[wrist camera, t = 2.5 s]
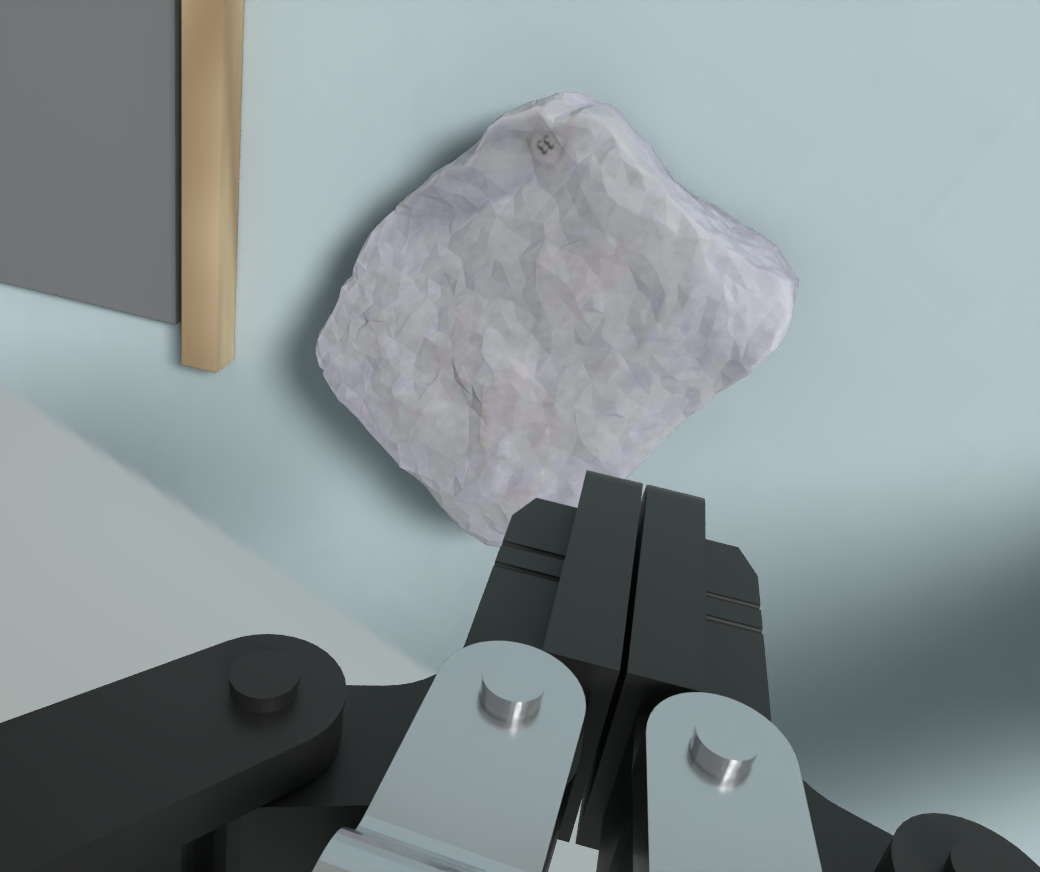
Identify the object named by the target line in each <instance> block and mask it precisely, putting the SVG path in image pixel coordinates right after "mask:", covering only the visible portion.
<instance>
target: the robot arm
mask: <svg viewBox="0 0 1040 872" xmlns="http://www.w3.org/2000/svg"><path fill="white" fill-rule="evenodd" d="M642 487H643V484H642V483H638V482H634V481H630V480H626V479H622V478H618V477H614V476H610V475H605V474H601V473H597V472H593V471H589V470H586V474H585V479H584V483H583V487H582V491H581V495H580V499H579V503H578V507H577V508H576V507H572V506H568V505H564V504H560V503H556V502H552V501H548V500H544V499H540V498H535V499H534V500H532V501H531V502H530V503H528V504H527V505H525V506H524V507H523V508H521V509H520V510H518V511H517V512H516V513H514V514H513V515H512V517H511V520H510V522H509V525H508V528H507V530H506V533H505V536H504V539H503V542H502V545H501V547H500V550H499V552H498V555H497V558H496V561H495V565H494V566H493V569H492V571H491V574H490V577H489V580H488V582H487V585H486V588H485V591H484V593H483V596H482V599H481V602H480V604H479V607H478V610H477V612H476V615H475V618H474V621H473V623H472V626H471V629H470V632H469V634H468V637H467V640H466V643H465V645H464V647H463V648H462V649H460V650H458V651H457V652H455V653H454V654H452V655H451V656H450V657H449V658H448V659H447V660H446V661H445V662H444V663H443V665H442V666H441V668H440V669H439V671H438V673H437V674H436V675H433V676H431V677H429V678H426V679H424V680H420V681H417V682H414V683H409V684H402V685H391V686H359V685H353V686H352V685H346V683H345V677H344V675H343V673H342V670H341V668H340V667H339V665H338V664H337V663H336V661H335V660H334V659H333V658H332V657H331V656H330V655H329V654H328V653H327V652H325V651H324V650H322V649H321V648H319V647H318V646H316V645H314V644H312V643H309V642H307V641H305V640H301V639H298V638H295V637H290V636H284V635H275V634H261V635H251V636H244V637H240V638H236V639H233V640H229V641H226V642H223V643H221V644H218V645H215V646H213V647H210V648H207V649H204V650H201V651H199V652H196V653H193V654H190V655H187V656H185V657H182V658H179V659H177V660H174V661H171V662H168V663H166V664H163V665H160V666H157V667H154V668H151V669H149V670H146V671H143V672H140V673H138V674H135V675H132V676H129V677H127V678H124V679H121V680H118V681H116V682H113V683H110V684H107V685H104V686H102V687H99V688H96V689H93V690H91V691H88V692H85V693H82V694H80V695H77V696H74V697H71V698H69V699H66V700H63V701H60V702H57V703H55V704H52V705H50V706H47V707H44V708H41V709H38V710H35V711H33V712H30V713H27V714H24V715H22V716H19V717H16V718H13V719H11V720H8V721H5V722H2V723H0V872H548V869H549V866H550V862H551V859H552V855H553V852H554V849H555V845H556V841H557V839H559V840H563V841H566V842H569V841H570V837H571V834H572V830H573V827H574V824H575V820H576V817H577V814H578V810H579V807H580V804H581V800H582V804H581V810H580V817H579V823H578V831H577V837H576V844H579V845H582V846H586V847H589V848H593V849H597V850H599V855H598V863H597V871H596V872H1040V867H1039V866H1038V865H1037V864H1036V863H1035V862H1034V861H1033V860H1031V859H1030V858H1029V857H1028V856H1027V855H1026V854H1025V853H1023V852H1022V851H1021V850H1020V849H1019V848H1017V847H1016V846H1015V845H1013V844H1012V843H1011V842H1009V841H1008V840H1006V839H1005V838H1003V837H1002V836H1000V835H998V834H997V833H995V832H993V831H992V830H990V829H988V828H986V827H984V826H982V825H979V824H977V823H975V822H972V821H970V820H967V819H964V818H961V817H957V816H952V815H948V814H938V813H930V814H921V815H917V816H914V817H911V818H910V819H908V820H906V821H905V822H903V823H902V824H901V825H900V827H899V828H898V829H897V830H896V832H895V834H894V836H893V835H891V834H889V833H887V832H885V831H884V830H882V829H880V828H878V827H876V826H874V825H872V824H870V823H868V822H867V821H865V820H863V819H861V818H859V817H857V816H855V815H853V814H852V813H850V812H848V811H846V810H844V809H842V808H841V807H839V806H837V805H835V804H834V803H832V802H830V801H829V800H827V799H826V798H824V797H823V796H822V795H820V794H819V793H818V792H816V791H815V790H814V789H813V788H811V787H810V786H809V785H808V784H807V783H806V782H805V781H803V780H802V777H801V772H800V767H799V763H798V760H797V757H796V754H795V752H794V750H793V749H792V747H791V745H790V743H789V742H788V740H787V739H786V738H785V736H784V735H783V734H782V733H781V732H780V730H779V729H778V728H777V727H776V726H775V725H774V724H773V723H771V714H770V703H769V692H768V681H767V671H766V660H765V649H764V639H763V634H761V633H762V629H763V628H762V617H761V610H759V608H760V596H759V585H758V576H757V574H756V573H755V571H754V570H753V568H752V567H751V565H750V564H749V562H748V561H747V559H746V558H745V557H744V555H743V554H742V552H741V551H740V549H739V548H738V547H735V546H731V545H727V544H723V543H719V542H715V541H711V540H706V539H705V499H704V498H701V497H697V496H692V495H688V494H684V493H680V492H676V491H672V490H668V489H664V488H660V487H656V486H651V485H647V486H646V488H645V491H644V494H643V497H642V500H641V495H642ZM640 503H641V504H640Z"/></svg>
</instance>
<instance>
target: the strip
mask: <svg viewBox="0 0 1040 872" xmlns="http://www.w3.org/2000/svg"><path fill="white" fill-rule="evenodd" d="M243 29H244V0H182V365H186V366H190V367H194V368H198V369H202V370H206V371H211V372H215V373H217V372H218V371H220V370H221V369H222V368H224V367H225V366H226V365H228V364H229V363H230V362H232V361H233V360H234V339H235V305H236V270H237V236H238V202H239V167H240V133H241V98H242V64H243Z"/></svg>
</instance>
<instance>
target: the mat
mask: <svg viewBox="0 0 1040 872" xmlns="http://www.w3.org/2000/svg"><path fill="white" fill-rule="evenodd" d="M0 282H4V283H8V284H12V285H16V286H20V287H24V288H28V289H32V290H36V291H41V292H45V293H49V294H53V295H57V296H61V297H65V298H69V299H73V300H77V301H82V302H86V303H90V304H94V305H98V306H102V307H106V308H110V309H114V310H118V311H123V312H127V313H131V314H135V315H139V316H143V317H147V318H151V319H155V320H159V321H164V322H168V323H172V324H177V323H179V322H180V321H182V0H0Z"/></svg>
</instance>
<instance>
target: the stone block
mask: <svg viewBox="0 0 1040 872" xmlns="http://www.w3.org/2000/svg"><path fill="white" fill-rule="evenodd" d="M798 282H799V280H798V278H797V277H796V275H795V273H794V272H793V270H792V268H791V267H790V265H789V264H788V263H787V261H786V260H785V259H784V257H783V256H782V254H781V253H780V251H779V249H778V247H777V246H776V245H775V244H773V243H772V242H771V241H769V240H768V239H766V238H765V237H764V236H762V235H761V234H759V233H757V232H756V231H754V230H753V229H750V228H748V227H746V226H743V225H742V224H741V223H740V222H738V221H737V220H736V219H734V218H733V217H731V216H729V215H728V214H726V213H724V212H723V211H721V210H720V209H719V208H717V207H716V206H714V205H712V204H710V203H708V202H706V201H704V200H702V199H700V198H698V197H696V196H694V195H692V194H691V193H689V192H688V191H687V190H686V189H684V188H683V187H682V186H681V185H679V184H678V183H677V182H675V181H674V179H673V178H672V177H671V175H670V174H669V173H668V171H667V170H666V169H665V167H664V166H663V164H662V163H661V161H660V160H659V158H658V156H657V155H656V153H655V152H654V150H653V149H652V147H651V146H650V145H649V144H648V143H647V142H646V141H645V140H644V139H643V138H642V137H641V136H640V135H639V134H638V133H637V132H636V131H635V130H633V128H632V126H631V125H630V123H629V122H628V120H627V119H626V117H625V116H624V115H623V114H622V113H621V112H620V111H619V110H618V109H616V108H615V107H613V106H612V105H610V104H605V103H600V102H598V101H595V100H593V99H591V98H590V97H588V96H586V95H584V94H579V93H556V94H554V95H552V96H550V97H547V98H543V99H539V100H535V101H531V102H528V103H526V104H524V105H522V106H520V107H518V108H516V109H514V110H512V111H509V112H506V113H505V114H503V115H502V116H501V117H499V118H498V119H497V120H496V121H495V122H494V123H493V124H492V125H490V126H489V127H488V128H487V129H486V130H485V132H484V133H483V135H482V137H481V139H480V140H479V141H478V142H477V143H475V144H474V145H473V146H472V147H470V148H469V149H468V150H467V151H465V152H464V153H463V154H462V155H460V156H459V157H458V158H457V159H456V160H454V161H453V162H451V163H449V164H447V165H445V166H444V167H442V168H440V169H438V170H437V171H436V172H434V173H433V174H431V176H430V177H429V178H428V179H427V180H426V181H425V182H424V183H423V184H422V185H421V186H419V187H418V188H417V189H416V190H415V191H413V192H412V193H410V194H409V195H407V196H406V197H405V198H404V200H402V201H401V202H400V203H399V204H398V205H397V206H396V209H394V210H393V211H392V212H391V213H390V214H388V215H387V216H386V217H385V218H384V219H383V220H382V221H381V222H380V223H379V224H378V225H377V226H376V227H375V229H374V230H373V231H372V232H371V233H370V234H369V236H368V237H367V239H366V241H365V243H364V245H363V247H362V249H361V251H360V253H359V256H358V258H357V260H356V263H355V265H354V267H353V274H352V276H351V277H350V278H348V279H347V281H346V282H345V283H344V285H343V286H342V287H341V290H340V295H339V299H338V302H337V304H336V306H335V308H334V310H333V312H332V313H331V315H330V316H329V318H328V319H327V321H326V323H325V325H324V326H323V328H322V329H321V330H320V331H319V333H318V336H319V337H318V340H317V343H316V352H315V353H316V356H317V360H318V363H319V367H320V368H322V371H323V376H324V377H325V379H326V381H327V383H328V385H329V387H330V389H331V391H332V392H333V393H334V394H335V395H336V397H337V398H338V400H339V402H340V403H342V404H343V405H344V406H345V407H347V408H348V410H349V411H350V412H351V413H352V414H353V415H355V416H356V417H357V419H358V420H359V421H360V422H361V424H362V425H363V426H364V427H365V428H366V429H367V430H368V432H369V433H370V434H371V435H372V436H373V437H374V438H375V440H376V441H377V442H378V443H379V444H380V445H381V446H382V447H383V448H384V450H385V451H386V452H387V453H388V454H389V455H390V456H391V457H392V458H393V459H394V460H395V461H396V462H397V464H398V465H399V466H400V468H402V469H404V470H405V471H407V472H408V473H410V474H411V475H413V476H414V477H415V478H416V479H418V480H419V481H420V482H421V483H422V484H424V485H425V486H426V487H427V489H428V490H429V492H430V493H431V495H432V496H433V497H434V499H435V500H436V501H437V503H438V504H439V505H440V507H442V508H443V509H444V510H445V511H446V513H447V514H448V515H449V516H450V517H451V518H452V520H454V521H455V522H456V523H457V524H458V525H459V526H460V527H461V528H462V529H463V530H464V531H466V532H467V533H469V534H470V535H472V536H474V537H475V538H477V539H479V540H480V541H481V542H483V543H484V544H486V545H489V546H494V547H501V545H502V542H503V539H504V536H505V533H506V530H507V528H508V525H509V522H510V520H511V517H512V515H513V514H514V513H516V512H517V511H518V510H520V509H521V508H523V507H524V506H525V505H527V504H528V503H530V502H531V501H532V500H534V499H535V498H540V499H544V500H548V501H552V502H556V503H560V504H564V505H568V506H572V507H576V508H577V507H578V503H579V499H580V495H581V491H582V487H583V483H584V479H585V474H586V470H589V471H593V472H597V473H601V474H605V475H610V476H614V477H618V478H622V479H626V478H627V477H628V476H629V475H630V474H631V473H632V472H633V471H634V470H635V469H636V468H637V467H638V466H639V465H640V464H641V463H642V462H643V461H644V460H645V459H646V458H647V457H648V456H649V454H650V453H651V452H652V451H653V450H654V449H655V448H656V447H657V446H658V445H659V444H660V443H661V442H662V441H663V440H664V439H665V438H666V437H667V436H668V435H669V434H670V433H671V432H672V431H674V430H675V429H676V428H677V427H678V426H679V425H680V424H681V423H682V422H683V421H684V420H685V419H687V418H688V417H689V416H690V415H692V414H693V413H694V412H696V411H697V410H699V409H700V408H701V407H703V406H704V405H705V404H706V403H707V402H708V401H709V400H710V399H711V398H713V397H714V396H715V395H716V394H717V393H718V392H720V391H722V390H723V389H725V388H727V387H728V386H730V385H732V384H733V383H735V382H737V381H738V380H740V379H742V378H743V377H745V376H747V375H748V374H750V373H751V372H752V371H753V370H754V369H755V368H756V367H757V366H758V365H759V364H760V363H762V362H763V361H764V360H765V359H766V358H767V357H768V356H769V355H770V354H771V353H773V352H774V351H775V350H776V348H777V346H778V345H779V343H780V342H781V340H782V339H783V337H784V335H785V334H786V332H787V330H788V328H789V325H790V321H791V316H792V309H793V303H794V300H795V298H796V293H797V288H798Z"/></svg>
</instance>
